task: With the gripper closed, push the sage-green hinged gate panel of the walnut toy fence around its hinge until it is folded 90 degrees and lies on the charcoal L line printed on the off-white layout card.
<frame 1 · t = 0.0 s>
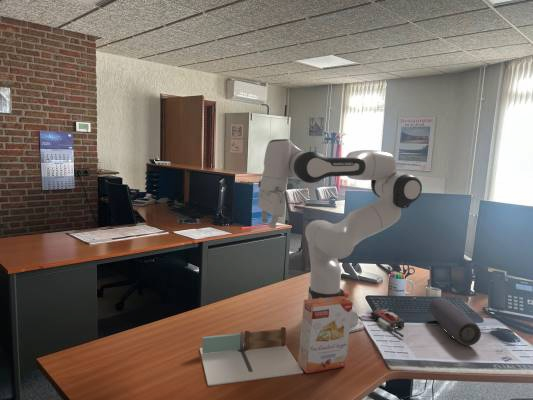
hand: (268, 225, 134), 39 cm above the table, tool pointing down, fingers open, 8 cm apart
layout card: (248, 360, 119), on the table
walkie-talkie: (391, 327, 148), on the table
gate panel: (223, 342, 123), point 4 cm above the table, hinge at 0.0°
bluetooth speaker: (451, 333, 143), on the table
fence: (264, 348, 127), resting on layout card
cracker box: (322, 366, 118), on the table, touching layout card
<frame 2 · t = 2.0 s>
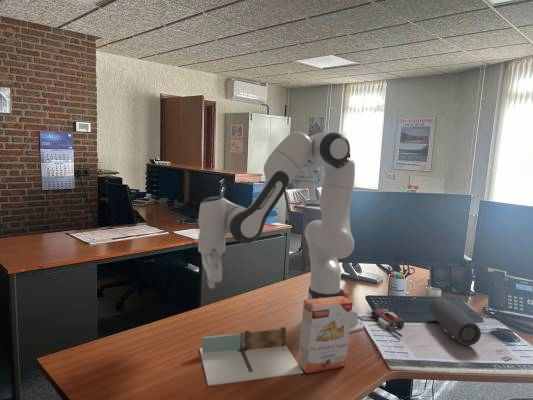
hand: (211, 286, 128), 19 cm above the table, tool pointing down, fingers closed
nothing on the table moved.
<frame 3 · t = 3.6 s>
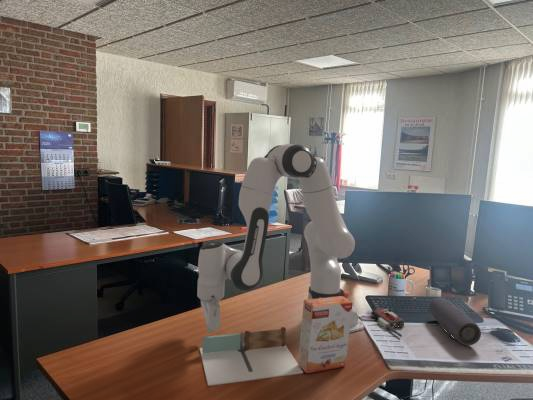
hand: (209, 330, 129), 4 cm above the table, tool pointing down, fingers closed
nothing on the table moved.
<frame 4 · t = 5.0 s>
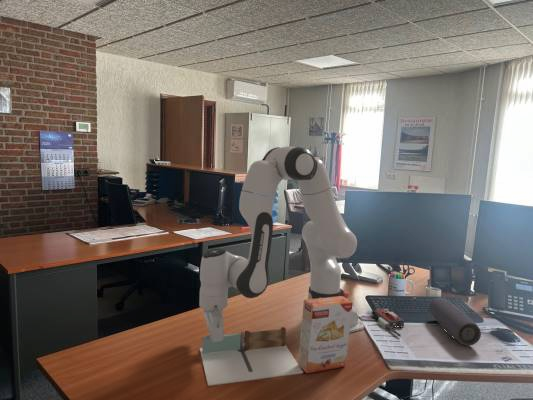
hand: (212, 341, 124), 3 cm above the table, tool pointing down, fingers closed
gate panel: (223, 342, 123), point 4 cm above the table, hinge at 0.0°, touching gripper
everything else where it was.
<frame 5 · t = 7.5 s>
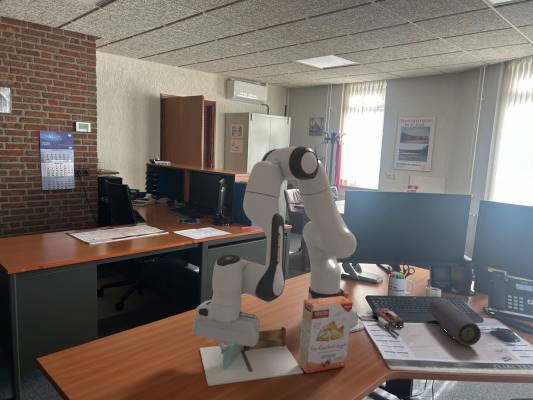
hand: (224, 353, 117), 3 cm above the table, tool pointing down, fingers closed
gate panel: (234, 349, 119), point 4 cm above the table, hinge at 54.0°, touching gripper
everything else where it was.
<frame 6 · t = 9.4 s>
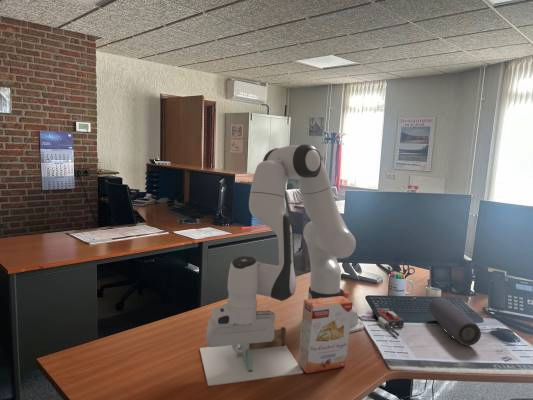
hand: (239, 356, 115), 3 cm above the table, tool pointing down, fingers closed
gate panel: (245, 350, 119), point 4 cm above the table, hinge at 88.6°
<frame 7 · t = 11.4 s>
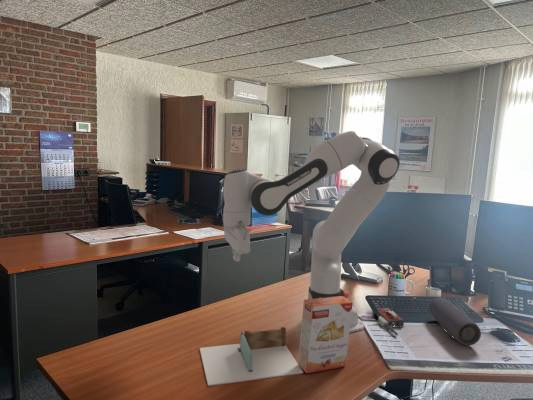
hand: (236, 260, 127), 28 cm above the table, tool pointing down, fingers closed
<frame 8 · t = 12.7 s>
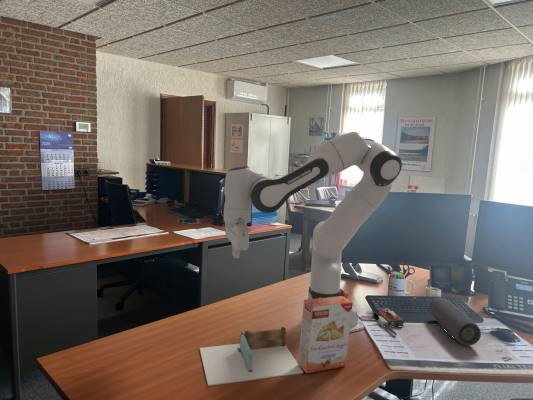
hand: (236, 256, 128), 29 cm above the table, tool pointing down, fingers closed
at the end: gate panel at +89° (first picture: +0°); cracker box moved 0.0 cm from its start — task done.
